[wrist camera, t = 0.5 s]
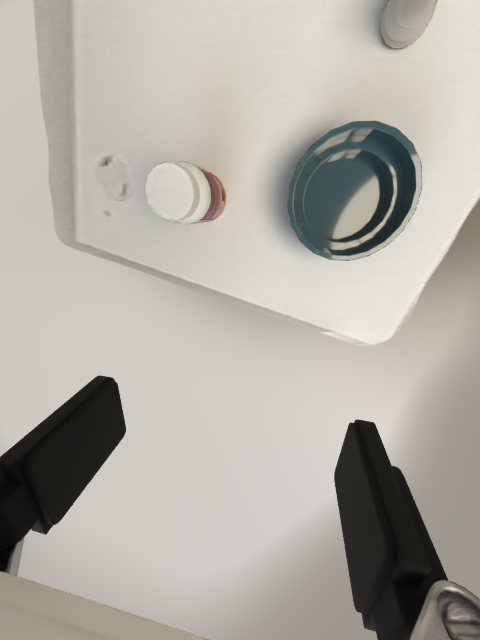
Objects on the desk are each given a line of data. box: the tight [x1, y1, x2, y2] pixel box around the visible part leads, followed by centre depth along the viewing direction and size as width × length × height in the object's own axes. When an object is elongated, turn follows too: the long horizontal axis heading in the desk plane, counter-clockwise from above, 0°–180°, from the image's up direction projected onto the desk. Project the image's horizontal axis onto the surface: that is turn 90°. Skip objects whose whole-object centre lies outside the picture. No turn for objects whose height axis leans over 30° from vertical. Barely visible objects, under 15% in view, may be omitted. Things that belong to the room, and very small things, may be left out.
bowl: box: [288, 121, 422, 261], centre depth 29 cm, size 13×13×6 cm
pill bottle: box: [145, 162, 226, 224], centre depth 29 cm, size 6×6×11 cm
